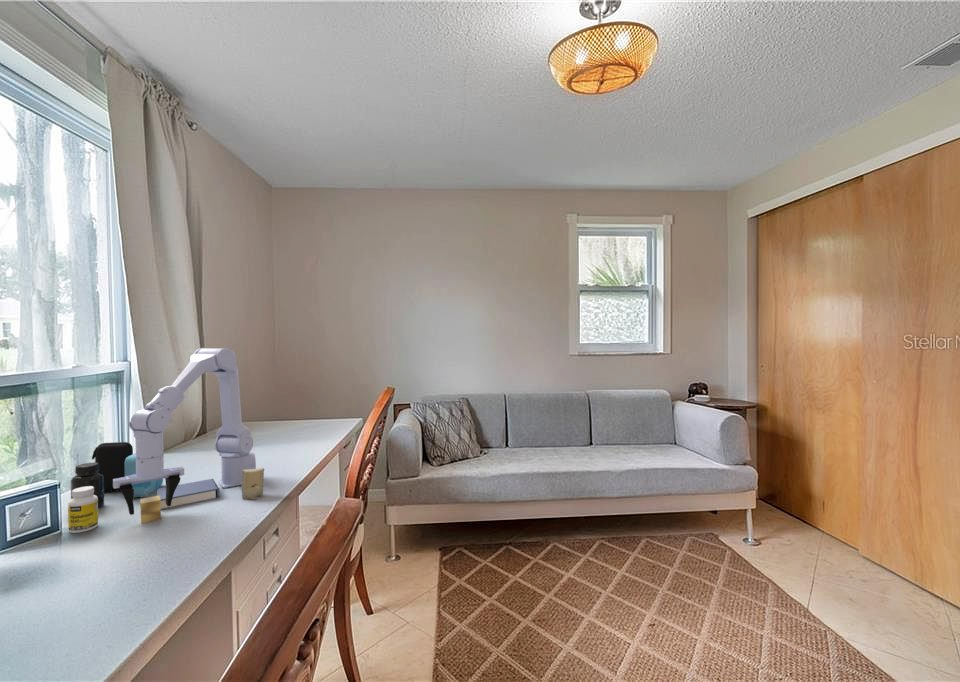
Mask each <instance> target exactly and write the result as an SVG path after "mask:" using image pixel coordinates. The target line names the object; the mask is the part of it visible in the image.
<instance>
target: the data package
mask: <svg viewBox="0 0 960 682" xmlns="http://www.w3.org/2000/svg"><path fill="white" fill-rule="evenodd" d="M133 474H136V452H135V453H133V455H130V456H128V457H127V458H126V459H125V476H129V475H133ZM163 482H164V478H163V479H158V480H153V481H148V482H143V483H138V484H132V486H133V489H134V496H133V499H134V498H135V499H136V498H146V497H147V496H148V495H149V494H151V493H152V492H154V491H155V490H156V491H157V489H158V488H161V486H162V485H163V484H164V483H163Z"/></svg>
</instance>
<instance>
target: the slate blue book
mask: <svg viewBox="0 0 960 682" xmlns="http://www.w3.org/2000/svg"><path fill="white" fill-rule="evenodd" d="M156 496H160V499H161V509H162V510H167V509H171V507H172V508H176V507H180V506H186V505H191V504H196V503H201V502H206V501H211V500H217V499H219V498H220V488H219V486H218V484H217V483H216V481H215V480H214V478H209V479H204V480H199V481H193V482H187V483H181V484H180V483H179V484H178V486H177V487H176V490H175V492H174V495H173V498H172V502H171V506H167V505H166V486H165V487H159V488H157V489H156ZM166 508H167V509H166Z"/></svg>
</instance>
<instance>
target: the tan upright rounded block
mask: <svg viewBox="0 0 960 682" xmlns="http://www.w3.org/2000/svg"><path fill="white" fill-rule="evenodd" d="M264 471H265V468H263V467H261V468H256V469H248V470H243V471H242V473H243V476H242V485H241V497H242V499H243V500H255V499H258V498H261V497H263V495H264V483H265V481H264V475H265V474H264Z"/></svg>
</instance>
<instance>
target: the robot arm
mask: <svg viewBox="0 0 960 682" xmlns="http://www.w3.org/2000/svg"><path fill="white" fill-rule="evenodd" d="M189 359H190V361H189V362H188V364H186V367H184V369H183V370H182V371H181V373H179V376H177V378H176V379H175V380H174V382H173V383H172V385H165V386H164V387H162V388H161V387H160V389H158V391H157V392H158V393H157V394H156V395H155V396H154V397H153V398H152V399H151V400H150V401H149V402H148V403H147V404H145V407H144V408H142V409H139V410H137V411H136V412H134V413H133V414H132V415H131V418H130V421H128V427H129V428H130V430H132V433H133V438H134V439H135V440H134V441H135V442H134V443H135V453H136V474H133V475H129V476H125V477H121V478H117V479H113V488H114V489H116V488H119V489H120V491H119V492H120V493H121V494H122V495H123V497H124V500H125V502H126V505H127V508H128V513H129V515H130V516H133V515H135V506H134V505H135V504H134V498H133V496H134V489H133V486H132V484H138V483H143V482H148V481H153V480H158V479H163V480H165V487H166V505H167V506H171V502H172V498H173V495H174V492H175V490H176V487H177V486H178V485H180V482H181V476H184V475H185V468H184V466H177V467H176V466H175V467H169V468H168V467H167V468H164V466H165V465H164V464H165V463H164V460H165V459H164V458H165V457H164V456H165V455H164V430H166V428H168V426H169V424H170V420H171V417H172V414H173V413H174V412H175V411H176V409H177V408H178V406H179V405H181V403H182V402H183V401H184V400H185V392H186V391H187V390H188V389H189V388H190V387H191V386H192V385H193V384H194V383H195V382H196V381H197V380H198V379H199V378H200V377H201V376H202V375H203V374H205V373H212V374H213V375H214V376H216V377H217V378H218V387H219V398H220V399H219V401H220V412H221V413H220V414H221V427H220V428H219V429H218V430H216V432H215V433H216V438H215V442H214V449H215V450H216V451H215V452H218V453H219V456H220V457H221V458H220V461H221V462H220V463H221V466H220V467H221V479H219V480H218V483H219V485H220V487H221V488H222V489H228V488H232V487H238V486H242V476H243V473H242V471H243V470H248V469H257V466H256V464H257V463H256V462H257V460H256V454H255V453H254V452H253V451H252V449H253V446H254V439H253V437H252V434H251V429H250V428H249V427H248V426H246V425H245V424H244V423H243V419H242V418H243V417H242V406H241V405H242V403H241V391H240V390H241V389H240V378H239V377H240V376H239V367H238V364H237V354H236V352H234V351H233V350H232V349H230V348H228V347H223V348H219V347H218V348H214V347H213V348H211V347H210V348H206V347H200V348H198V349H196V350H195V351H194V353H193V354H192V355H191V356H190V357H189ZM251 451H252V452H251Z"/></svg>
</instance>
